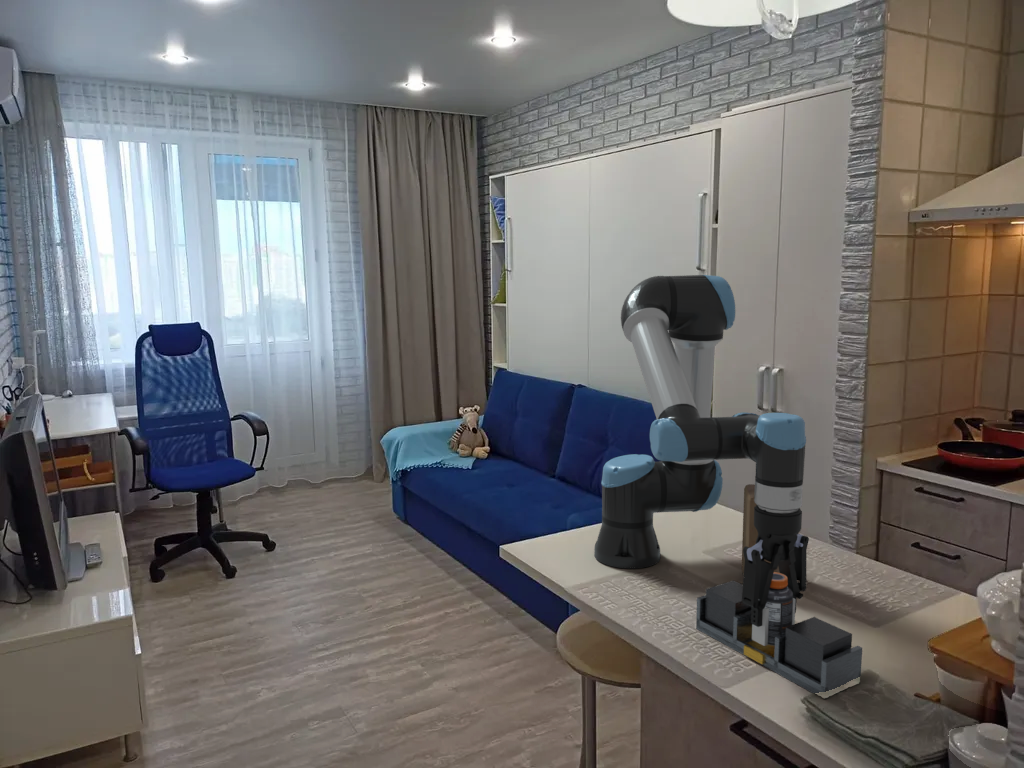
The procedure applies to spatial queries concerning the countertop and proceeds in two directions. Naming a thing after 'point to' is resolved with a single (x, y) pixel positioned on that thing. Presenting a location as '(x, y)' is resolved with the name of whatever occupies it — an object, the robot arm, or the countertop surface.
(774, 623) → the pill bottle
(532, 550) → the countertop surface
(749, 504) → the block
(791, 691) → the countertop surface
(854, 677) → the rack
